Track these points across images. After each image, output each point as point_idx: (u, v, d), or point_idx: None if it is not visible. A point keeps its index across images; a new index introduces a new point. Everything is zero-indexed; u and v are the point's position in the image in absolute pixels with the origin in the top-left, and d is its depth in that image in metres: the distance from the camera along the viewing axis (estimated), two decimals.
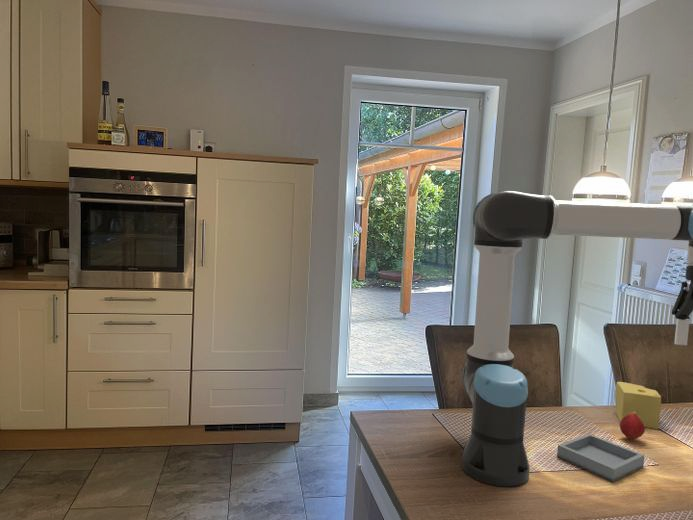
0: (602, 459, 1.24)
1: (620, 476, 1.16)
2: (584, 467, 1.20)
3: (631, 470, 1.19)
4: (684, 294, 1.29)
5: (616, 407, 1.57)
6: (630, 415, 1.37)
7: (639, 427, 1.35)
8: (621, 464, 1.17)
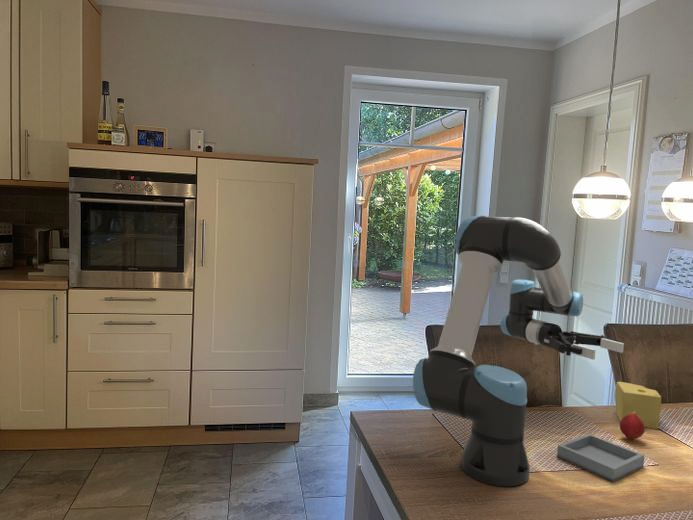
0: (602, 459, 1.24)
1: (620, 476, 1.16)
2: (584, 467, 1.20)
3: (631, 470, 1.19)
4: None
5: (616, 407, 1.57)
6: (630, 415, 1.37)
7: (639, 427, 1.35)
8: (621, 464, 1.17)
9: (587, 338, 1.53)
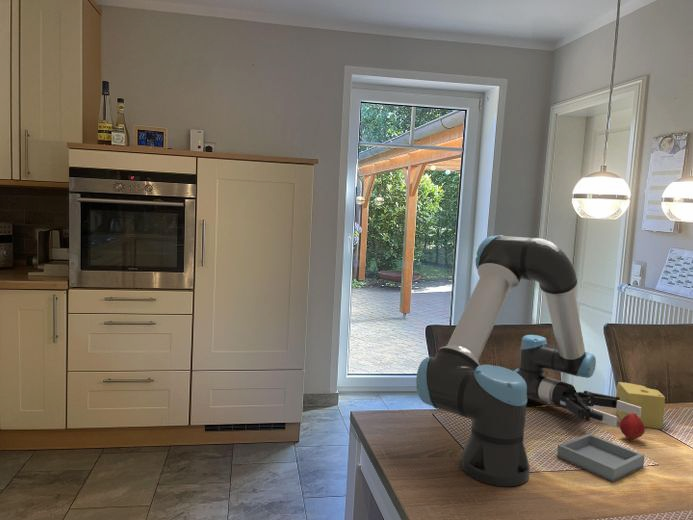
0: (602, 459, 1.24)
1: (620, 476, 1.16)
2: (584, 467, 1.20)
3: (631, 470, 1.19)
4: None
5: None
6: (630, 415, 1.37)
7: (639, 427, 1.35)
8: (621, 464, 1.17)
9: (602, 400, 1.49)
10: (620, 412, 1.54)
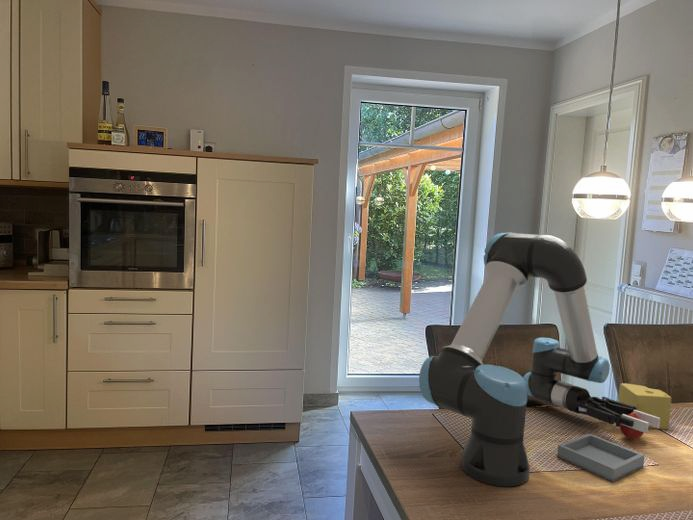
0: (602, 459, 1.24)
1: (620, 476, 1.16)
2: (584, 467, 1.20)
3: (631, 470, 1.19)
4: None
5: None
6: (630, 415, 1.37)
7: None
8: (621, 464, 1.17)
9: (617, 407, 1.43)
10: None
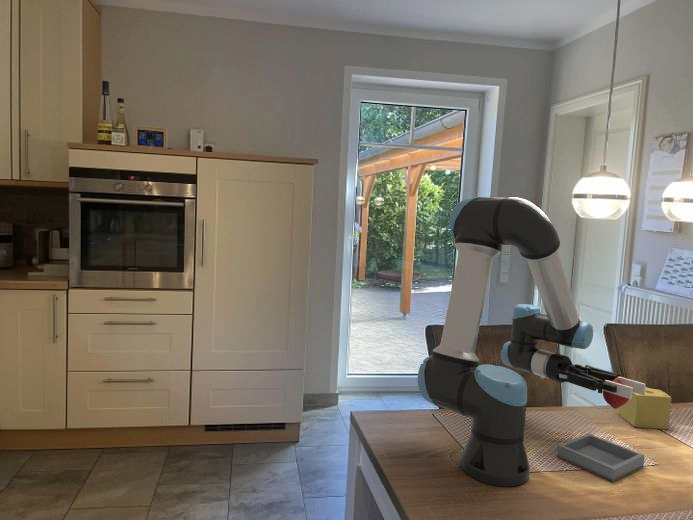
0: (602, 459, 1.24)
1: (620, 476, 1.16)
2: (584, 467, 1.20)
3: (631, 470, 1.19)
4: None
5: (621, 409, 1.55)
6: (613, 381, 1.27)
7: None
8: (621, 464, 1.17)
9: (600, 374, 1.33)
10: (625, 414, 1.52)
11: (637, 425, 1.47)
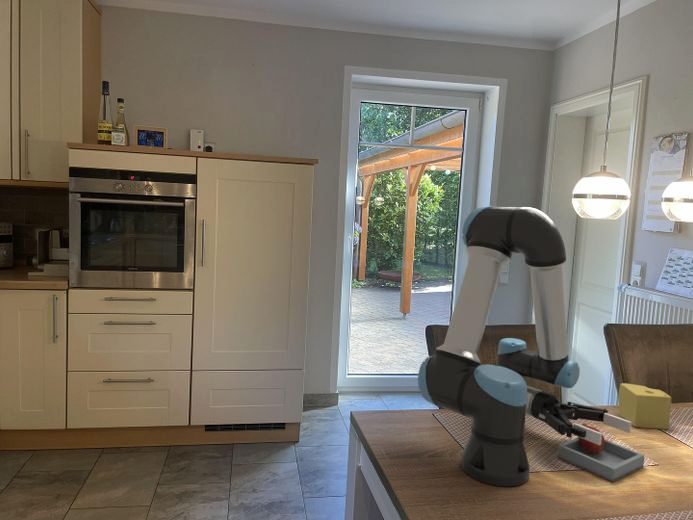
0: (602, 459, 1.24)
1: (620, 476, 1.16)
2: (584, 467, 1.20)
3: (631, 470, 1.19)
4: None
5: (621, 409, 1.55)
6: None
7: None
8: (621, 464, 1.17)
9: (588, 412, 1.31)
10: (625, 414, 1.52)
11: (637, 425, 1.47)
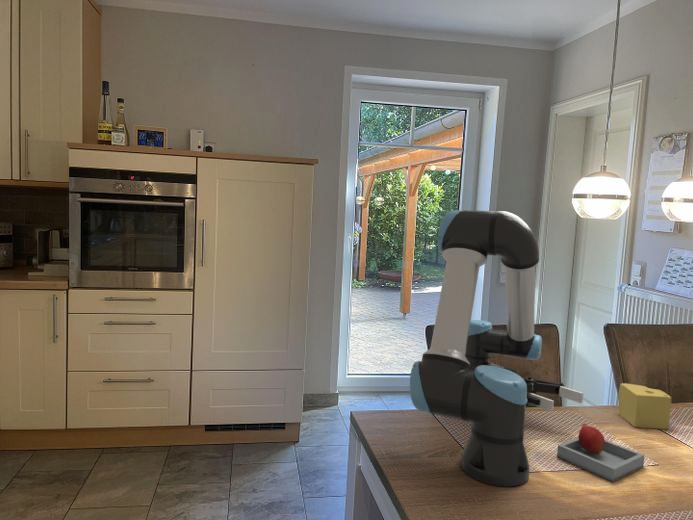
0: (602, 459, 1.24)
1: (620, 476, 1.16)
2: (584, 467, 1.20)
3: (631, 470, 1.19)
4: None
5: (621, 409, 1.55)
6: (582, 427, 1.29)
7: (594, 430, 1.26)
8: (621, 464, 1.17)
9: (545, 386, 1.43)
10: (625, 414, 1.52)
11: (637, 425, 1.47)
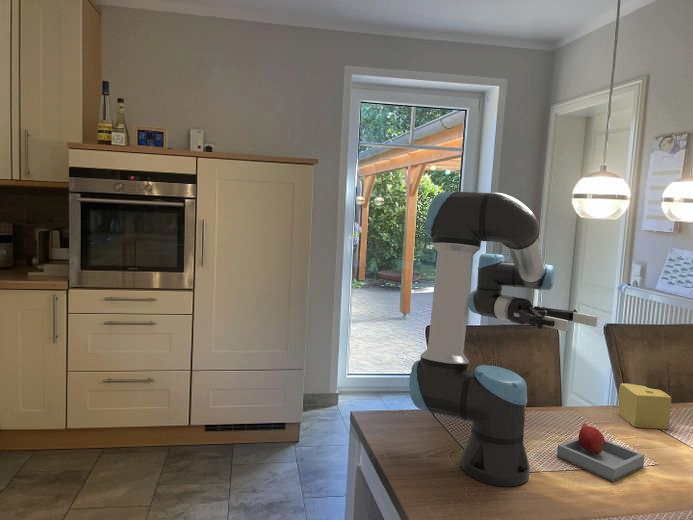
0: (602, 459, 1.24)
1: (620, 476, 1.16)
2: (584, 467, 1.20)
3: (631, 470, 1.19)
4: None
5: (621, 409, 1.55)
6: (582, 427, 1.29)
7: (594, 430, 1.26)
8: (621, 464, 1.17)
9: (559, 313, 1.43)
10: (625, 414, 1.52)
11: (637, 425, 1.47)
